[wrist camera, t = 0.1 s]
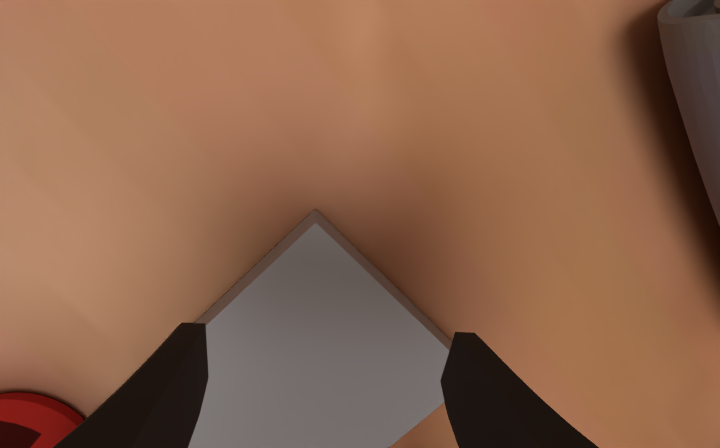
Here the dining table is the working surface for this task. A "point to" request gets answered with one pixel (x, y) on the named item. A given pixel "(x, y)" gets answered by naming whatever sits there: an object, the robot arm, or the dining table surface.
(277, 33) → the dining table surface
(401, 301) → the base board
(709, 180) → the bluetooth speaker
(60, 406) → the canned food
